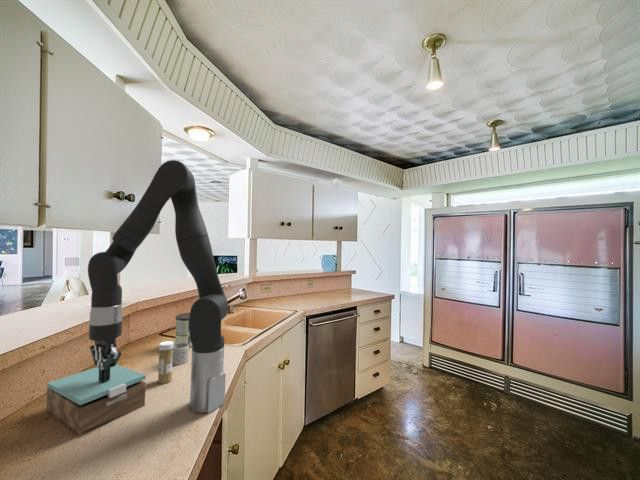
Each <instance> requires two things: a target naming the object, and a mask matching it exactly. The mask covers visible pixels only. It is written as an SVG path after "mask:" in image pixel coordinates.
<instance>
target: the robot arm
mask: <svg viewBox="0 0 640 480" xmlns="http://www.w3.org/2000/svg"><path fill="white" fill-rule="evenodd" d="M196 188H197V187H196V180H195V177H194V174H193V173H192V172H191V170H190V169H189V168H188V166H186V164H184V163H183V162H181V161H179V160H174V159H172V160H171V159H170V160H167V161H165V162H163V163H162V164H161V165H160V166H159V167H158V169H157V171H156V172H155V174H154V175H153V177H152V179H151V182H150V183H149V185H148V187H147V188H146V190H145V192H144V194H143V195H142V197H141V199H140V200H139V201H138V202H137V204H136V206H135V207H134V209H133V210H132V211H131V213H130V214H129V215H128V216H127V217H126V219H125V220H124V221H123V223H122V224H121V225H120V226H119V228H118V229H117V230H116V231H115V233H114V234H113V235H112V243H111V244H110V245H109V247H108V248H107V249H106V250H105V251H99V252H97V253H95V254H93V256H91V258H90V259H89V261H88V265H87V275H88V281H89V285H90V289H91V297H90V298H91V302H90V303H91V305H90V311H89V327H88V339H89V341H92V342H94V344H93V345H90V346H89V348H90V349H89V350H90V353H91V357H92V360H93V363H94V365H95V366H97V368H98V369H99V382H101V383H104V382H107V381H109V380H110V368H111V367H114V366H115V365H117V363H118V361H119V360H120V358H121V356H122V351H121V350H117V347H118V346H117V340H116V339H118V338H119V337H120V336H121V335H122V332H123V305H122V303H123V300H122V298H123V288H122V286H121V285H120V284H119V281H118V279H119V277H118V274H120V273H121V272H122V271H123V270H124V269H125V268H126V267H127V266H128V264H129V263H130V261H131V260H132V258H133V256H134V254H135V253H136V251H137V249H138V248H139V246H141V244H142V243H143V242H144V241H145V239H146V238H147V237H148V235H149V234H150V232H152V230H153V228H154V226H155V225H156V222H157V220H158V217H159V216H160V213H161V211H162V209H164V207H165V205H166V204H167V202H168V201H169V200H171V202H172V203H171V204H172V207H173V210H174V214H175V219H174V221H175V222H174V223H175V225H174V226H175V228H174V229H175V230H174V231H175V239H176V240H175V241H176V245H177V249H178V252H179V256H180V259H181V260H182V262H183V264H184V266H185V268H187V270H188V272H189V273H190V275H191V276H192V278H193V280H194V283H195V285H196V287H197V293H198V299H197V300H195V302H193V304H192V305H191V308H190V312H189V313H190V341H191V343H192V348H191V365H190V366H191V367H190V368H191V369H190V390H189V391H190V394H189V395H190V397H189V398H190V399H189V401H190V402H189V408H190V410H191V411H193V412H194V413H198V414H199V413H203V414H204V413H207V414H210V413H211V412H213V411H215V410H217V409H218V408H220V407H221V406H223V405H224V404H225V403H226V401H225V400H226V398H225V397H226V374H227V373H226V372H224V366H225V365H224V361H225V360H224V359H225V357H224V356H225V337H224V335H222V320H223V319H225V317H226V316H227V315H228V311H229V303H228V299H227V296H226V293H225V291H224V289H223V286H222V283H221V281H220V278H219V275H218V271H217V266H216V261H215V257H214V254H213V249H212V244H211V240H210V237H209V233H208V231H207V227H206V224H205V221H204V218H203V215H202V212H201V210H200V206H199V202H198V195H197V189H196Z"/></svg>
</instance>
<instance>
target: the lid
mask: <svg viewBox="0 0 640 480" xmlns="http://www.w3.org/2000/svg"><path fill="white" fill-rule="evenodd" d="M146 377H147V375H146V374H144V373H141V372H138V371H136V370H133V369H130V368H127V367H124V366H122V365H119V364H116V365H115V366H114V367H111V368H110V380H109V381H107V382H104V383H101V382H99V369H98V368H97V367H93V368H90V369H86V370H84V371H81V372H78V373H74V374H71V375H68V376H65V377H62V378H59V379H55V380H53V381H49V382H47V387H48V388H50V389H52V390H53V391H55V392H57V393H59V394H61V395H62V396H64V397H66V398H68V399H70V400H71V401H73V402H75V403H77V404H79V405H82V404H85V403H87V402H90V401H92V400H95V399H97V398H100V397H102V396H105V395H107V394H108V397H109V398H112V397H114V396H116V395H119V394H121V393H124V392H126V387H127V386H129V385H132V384H134V383H137V382H139V381H145V380H146ZM47 387H46V388H47Z"/></svg>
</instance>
